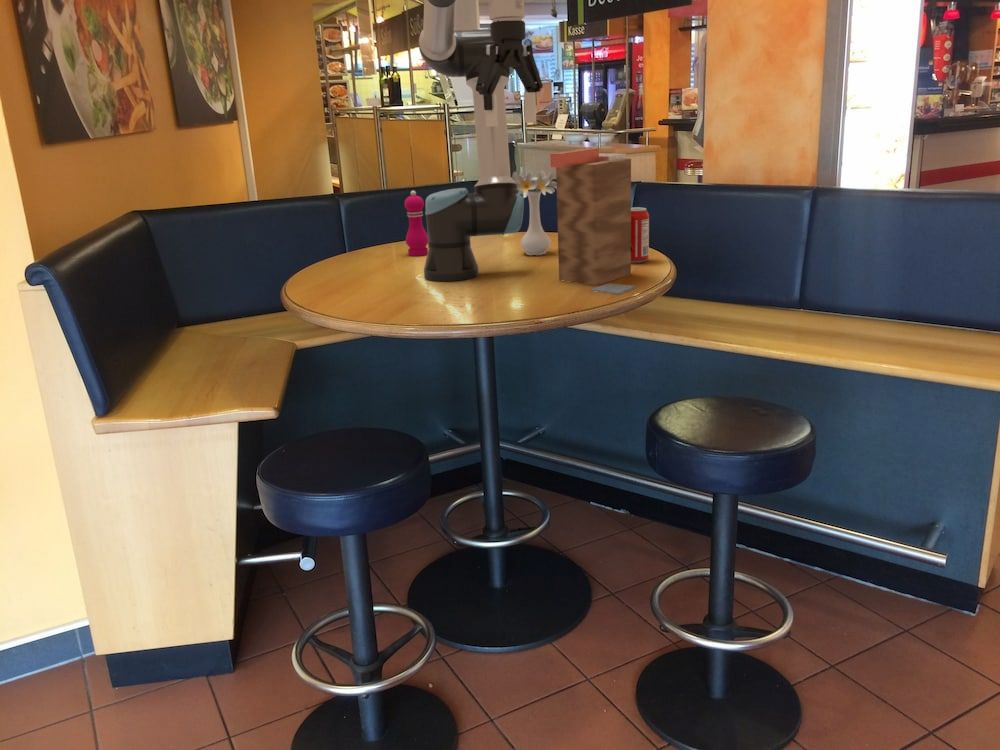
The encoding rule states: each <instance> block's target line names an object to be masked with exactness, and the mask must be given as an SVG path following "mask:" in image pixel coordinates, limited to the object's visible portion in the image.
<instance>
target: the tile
mask: <svg viewBox="0 0 1000 750" xmlns="http://www.w3.org/2000/svg"><path fill="white" fill-rule="evenodd" d="M634 289H636V286H635V285H626V284H620V283H611V282H606V283H603V285H602V284H601V285H598V286H596V287H594V288H591V289H590V292H593V291H597V292H596V293H601V292H602V293H601V294H608V293H610V295H617V296H618V295H623V293H627V292H629V291H631V290H634Z"/></svg>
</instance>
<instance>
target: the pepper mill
mask: <svg viewBox="0 0 1000 750" xmlns="http://www.w3.org/2000/svg"><path fill="white" fill-rule="evenodd" d="M424 206H425V203H424V199H423V198H422V197H421V196H418V195H417V192H416V190H411V191H410V195H409V196H407V198H405V200H404V208H405V209H406V211H407V212H406V217H408V224H409V225H408V230H407V233H406V236H405V244H406V245H407V247H409V248H408V249H407V253H408V256H411V257H421V256H427V254H428V250H429V248H428V247H427V245H428V233H427V232H426V229H425V228H424V226H423V225H424V224H423V220H422V219H423V216H424V214H423V208H424Z"/></svg>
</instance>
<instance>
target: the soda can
mask: <svg viewBox="0 0 1000 750" xmlns="http://www.w3.org/2000/svg"><path fill="white" fill-rule="evenodd" d="M649 233H650V214H649V212H648V210H647V208H646V207H639V206H638V207H631V264H633V263H635V264H642V263H645V262H646V261H648V259H649V256H650V255H649V249H650V246H649V245H650V244H649V243H650V241H649V240H650V235H649Z"/></svg>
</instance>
